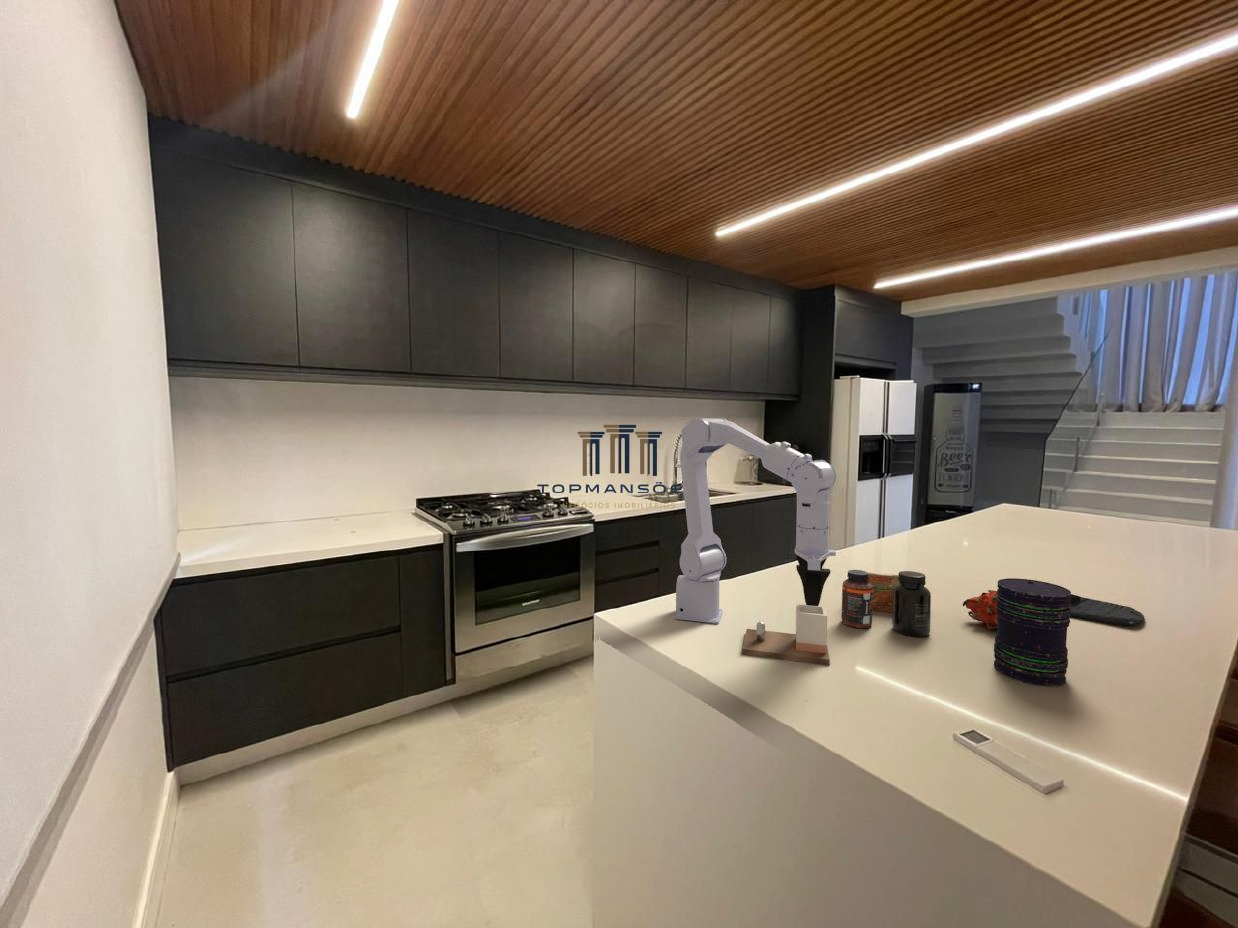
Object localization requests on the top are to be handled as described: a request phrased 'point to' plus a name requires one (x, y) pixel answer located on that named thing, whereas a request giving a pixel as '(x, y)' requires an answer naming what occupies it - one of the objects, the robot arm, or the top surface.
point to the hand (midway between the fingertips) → (811, 598)
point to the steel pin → (760, 632)
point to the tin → (883, 591)
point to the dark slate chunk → (1103, 611)
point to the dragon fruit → (984, 608)
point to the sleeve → (811, 628)
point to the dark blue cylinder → (1032, 631)
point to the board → (780, 648)
